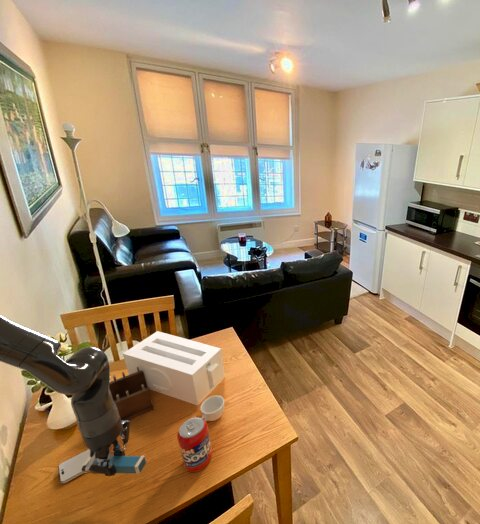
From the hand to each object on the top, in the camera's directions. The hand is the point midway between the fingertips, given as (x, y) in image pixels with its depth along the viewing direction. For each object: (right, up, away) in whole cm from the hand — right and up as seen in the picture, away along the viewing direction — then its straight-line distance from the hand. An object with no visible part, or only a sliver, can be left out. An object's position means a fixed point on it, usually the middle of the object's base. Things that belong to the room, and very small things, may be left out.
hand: (116, 467), depth 77 cm
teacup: (+14, 0, +25) cm, 29 cm away
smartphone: (-15, -5, +10) cm, 19 cm away
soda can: (+16, -6, +12) cm, 21 cm away
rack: (-18, +3, +27) cm, 33 cm away
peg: (0, 0, 0) cm, 0 cm away
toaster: (-6, +6, +40) cm, 40 cm away
